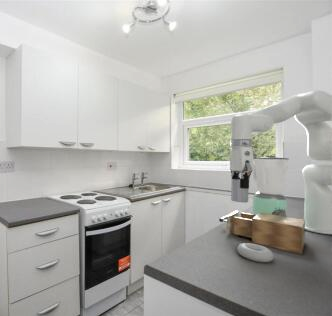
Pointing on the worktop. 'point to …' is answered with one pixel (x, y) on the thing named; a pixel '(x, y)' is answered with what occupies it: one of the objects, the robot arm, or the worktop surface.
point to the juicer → (270, 185)
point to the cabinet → (279, 232)
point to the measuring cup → (238, 192)
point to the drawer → (239, 223)
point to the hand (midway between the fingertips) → (239, 186)
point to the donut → (255, 252)
